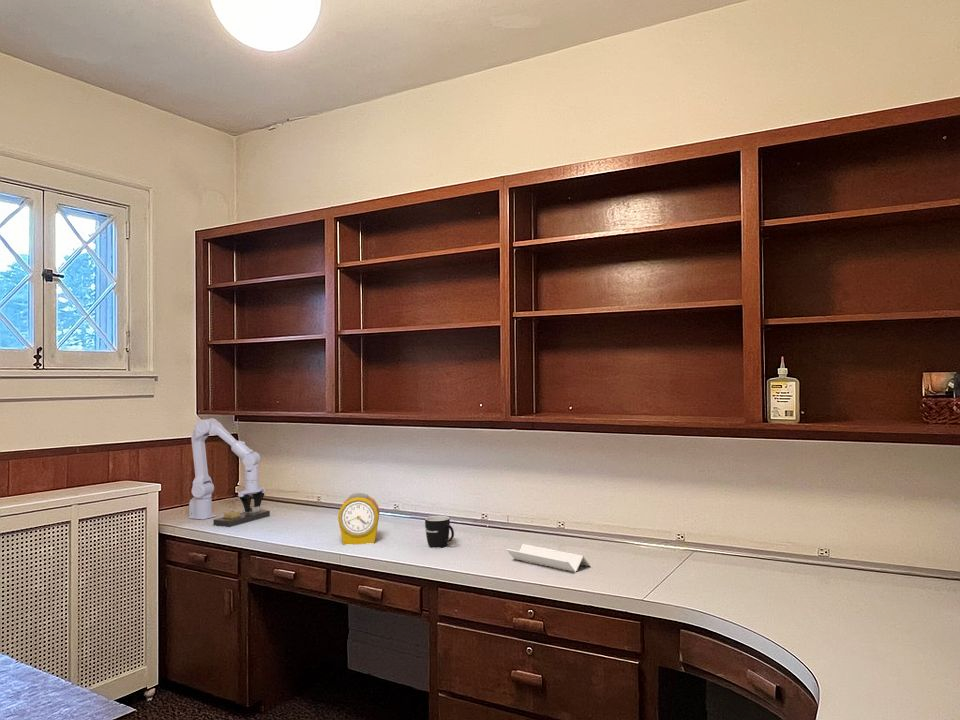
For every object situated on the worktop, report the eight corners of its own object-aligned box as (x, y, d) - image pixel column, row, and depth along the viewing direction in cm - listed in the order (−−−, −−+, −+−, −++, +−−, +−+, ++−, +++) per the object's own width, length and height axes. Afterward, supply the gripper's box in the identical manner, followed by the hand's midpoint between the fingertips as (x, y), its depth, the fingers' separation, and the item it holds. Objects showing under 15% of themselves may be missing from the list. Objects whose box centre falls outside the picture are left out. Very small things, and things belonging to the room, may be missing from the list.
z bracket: (523, 569, 251) (531, 554, 254) (583, 583, 234) (591, 566, 237) (506, 549, 245) (514, 533, 248) (567, 562, 228) (575, 545, 231)
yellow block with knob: (224, 524, 314) (224, 512, 314) (232, 522, 318) (231, 510, 318) (231, 525, 311) (231, 513, 311) (239, 522, 315) (239, 511, 315)
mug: (420, 546, 267) (419, 519, 267) (436, 541, 274) (436, 514, 275) (445, 551, 260) (445, 522, 260) (461, 546, 267) (461, 518, 267)
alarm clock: (338, 545, 272) (337, 495, 272) (340, 540, 280) (339, 492, 280) (378, 543, 273) (377, 494, 273) (380, 538, 281) (379, 490, 281)
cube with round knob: (244, 518, 324) (244, 507, 324) (252, 516, 328) (252, 505, 328) (252, 519, 322) (252, 507, 322) (259, 517, 326) (259, 506, 326)
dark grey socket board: (213, 525, 311) (213, 519, 311) (254, 514, 333) (254, 509, 333) (229, 527, 307) (228, 521, 307) (269, 516, 328) (269, 510, 328)
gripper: (246, 482, 317) (247, 514, 317) (270, 477, 330) (270, 508, 330) (234, 481, 320) (235, 513, 320) (258, 477, 333) (259, 507, 333)
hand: (252, 510), depth 325 cm, fingers open, 5 cm apart
